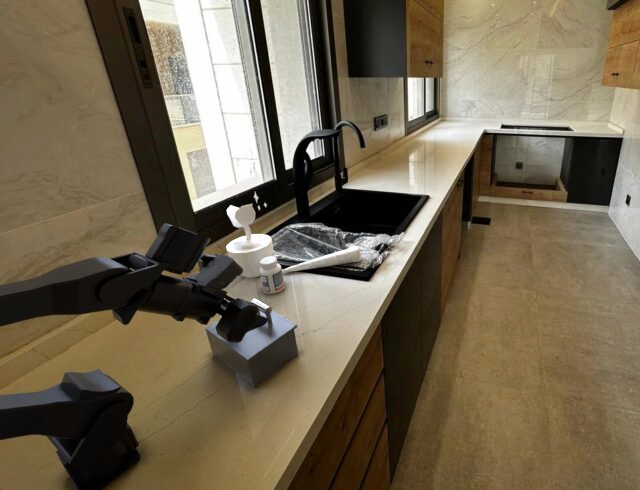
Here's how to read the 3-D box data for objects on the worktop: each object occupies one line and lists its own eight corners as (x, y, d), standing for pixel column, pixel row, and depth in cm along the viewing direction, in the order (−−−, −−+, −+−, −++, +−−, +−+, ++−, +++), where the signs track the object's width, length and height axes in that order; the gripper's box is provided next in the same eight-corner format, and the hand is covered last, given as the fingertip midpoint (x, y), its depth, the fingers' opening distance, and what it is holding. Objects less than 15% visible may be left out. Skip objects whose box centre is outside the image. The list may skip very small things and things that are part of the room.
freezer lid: (254, 302, 73) (251, 285, 71) (297, 327, 66) (294, 309, 64) (205, 330, 65) (200, 312, 63) (248, 362, 58) (243, 342, 56)
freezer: (256, 326, 75) (251, 304, 72) (298, 353, 68) (294, 329, 65) (213, 354, 67) (205, 330, 65) (254, 388, 60) (248, 362, 58)
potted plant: (284, 271, 96) (270, 191, 87) (242, 289, 88) (222, 202, 79) (265, 256, 104) (250, 181, 95) (225, 271, 96) (205, 191, 87)
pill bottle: (285, 281, 91) (280, 253, 88) (284, 292, 87) (278, 263, 84) (264, 284, 90) (258, 256, 87) (262, 296, 85) (256, 266, 82)
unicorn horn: (280, 266, 98) (278, 252, 97) (360, 256, 105) (359, 243, 103) (278, 275, 94) (276, 260, 92) (361, 264, 100) (360, 250, 99)
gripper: (234, 266, 50) (303, 289, 63) (176, 236, 59) (247, 261, 72) (191, 339, 46) (273, 347, 59) (137, 295, 56) (218, 311, 68)
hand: (252, 312), depth 65 cm, fingers open, 9 cm apart
